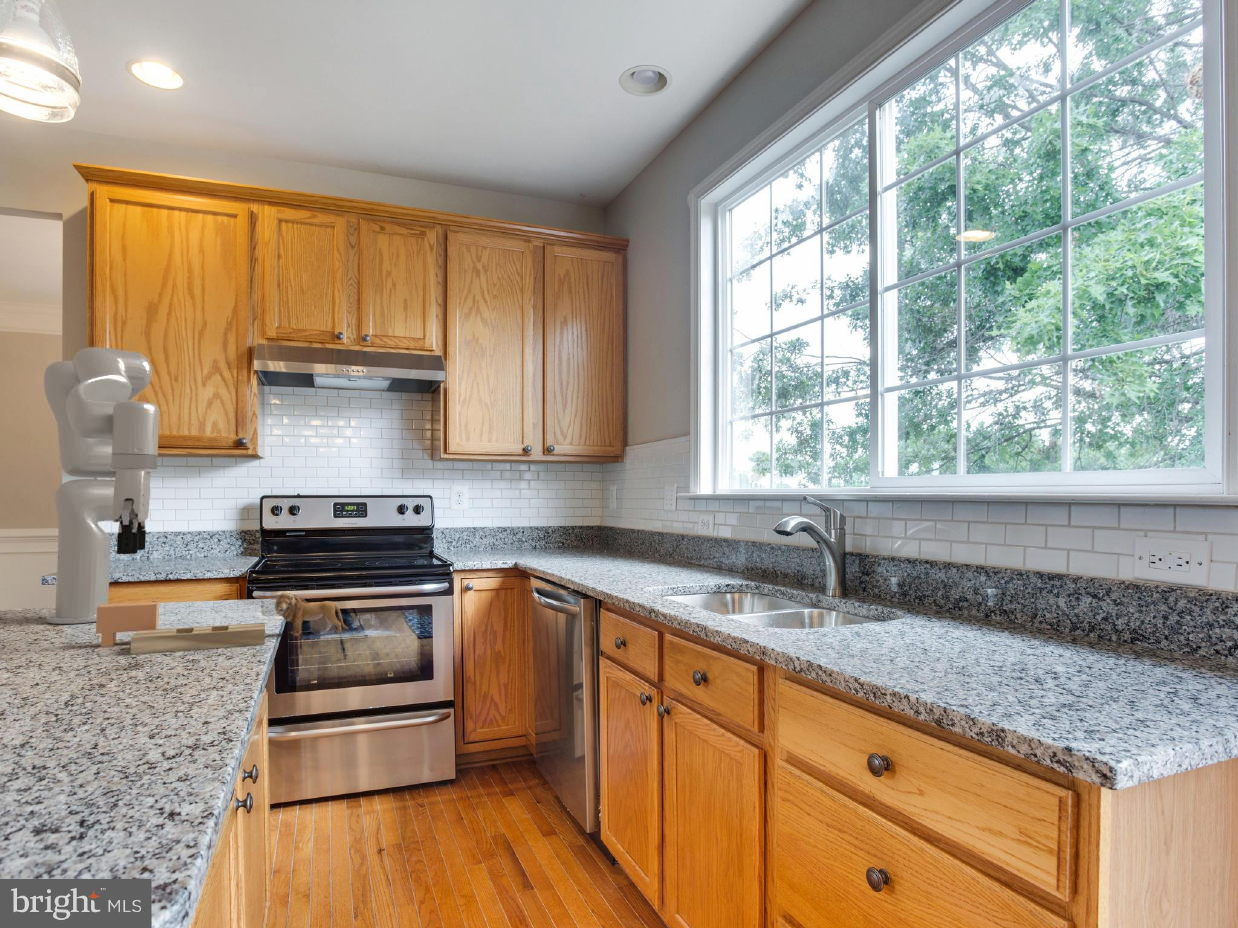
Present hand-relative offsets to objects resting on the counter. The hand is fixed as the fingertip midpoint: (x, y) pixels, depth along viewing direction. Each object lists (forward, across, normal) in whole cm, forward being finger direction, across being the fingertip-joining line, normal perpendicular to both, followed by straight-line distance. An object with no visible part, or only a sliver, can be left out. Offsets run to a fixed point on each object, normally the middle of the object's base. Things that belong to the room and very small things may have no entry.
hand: (131, 551), depth 139 cm
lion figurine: (+18, +2, +32) cm, 37 cm away
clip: (+18, -1, 0) cm, 18 cm away
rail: (+18, +6, +13) cm, 23 cm away
